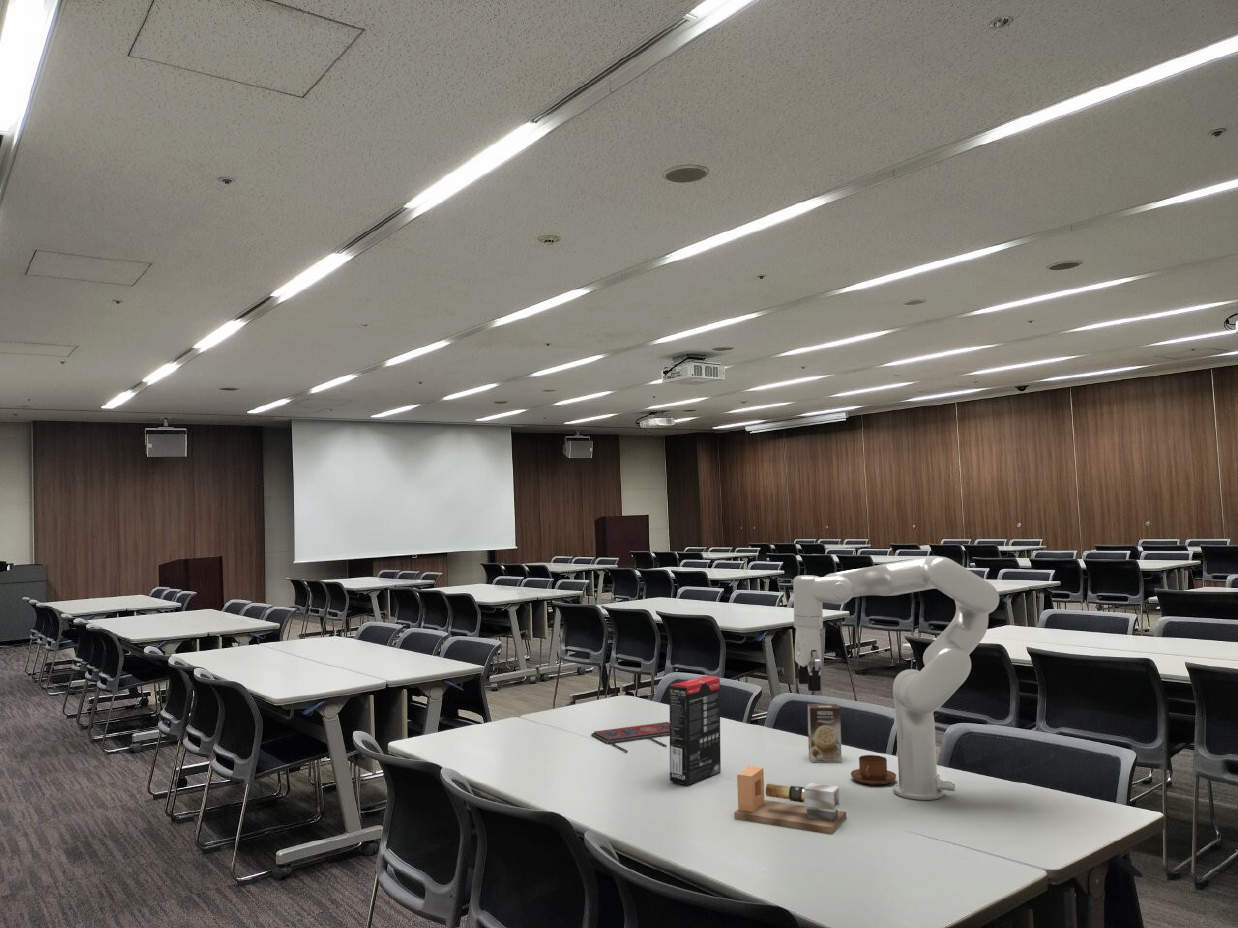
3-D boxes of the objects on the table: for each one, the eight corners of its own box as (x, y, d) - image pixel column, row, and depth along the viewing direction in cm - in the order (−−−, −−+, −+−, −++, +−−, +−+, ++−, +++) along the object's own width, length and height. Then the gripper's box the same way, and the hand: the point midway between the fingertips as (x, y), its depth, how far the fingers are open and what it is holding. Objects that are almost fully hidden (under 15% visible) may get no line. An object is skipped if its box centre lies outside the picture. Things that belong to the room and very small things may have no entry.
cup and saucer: (898, 788, 231) (897, 765, 231) (852, 787, 233) (851, 763, 234) (894, 775, 243) (893, 753, 243) (849, 774, 245) (848, 752, 246)
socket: (764, 802, 217) (763, 767, 218) (752, 812, 210) (751, 776, 211) (750, 800, 219) (749, 766, 220) (738, 809, 212) (737, 774, 213)
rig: (846, 817, 209) (845, 782, 209) (832, 833, 198) (830, 796, 199) (752, 804, 221) (751, 770, 221) (734, 818, 210) (733, 783, 211)
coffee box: (811, 762, 257) (808, 707, 258) (808, 756, 264) (806, 703, 265) (842, 762, 256) (840, 707, 257) (839, 757, 263) (837, 703, 264)
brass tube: (836, 804, 206) (836, 789, 206) (832, 808, 203) (831, 793, 203) (770, 795, 214) (770, 780, 214) (765, 799, 211) (765, 784, 211)
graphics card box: (703, 768, 254) (700, 674, 256) (723, 772, 249) (720, 676, 251) (669, 783, 240) (666, 683, 242) (689, 787, 236) (686, 685, 238)
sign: (706, 736, 286) (623, 748, 273) (706, 743, 285) (623, 755, 273) (668, 721, 310) (590, 731, 297) (668, 726, 309) (590, 737, 297)
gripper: (786, 618, 240) (787, 681, 239) (802, 625, 223) (803, 693, 221) (813, 618, 240) (814, 681, 239) (831, 625, 223) (832, 693, 222)
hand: (809, 687), depth 230 cm, fingers open, 9 cm apart
